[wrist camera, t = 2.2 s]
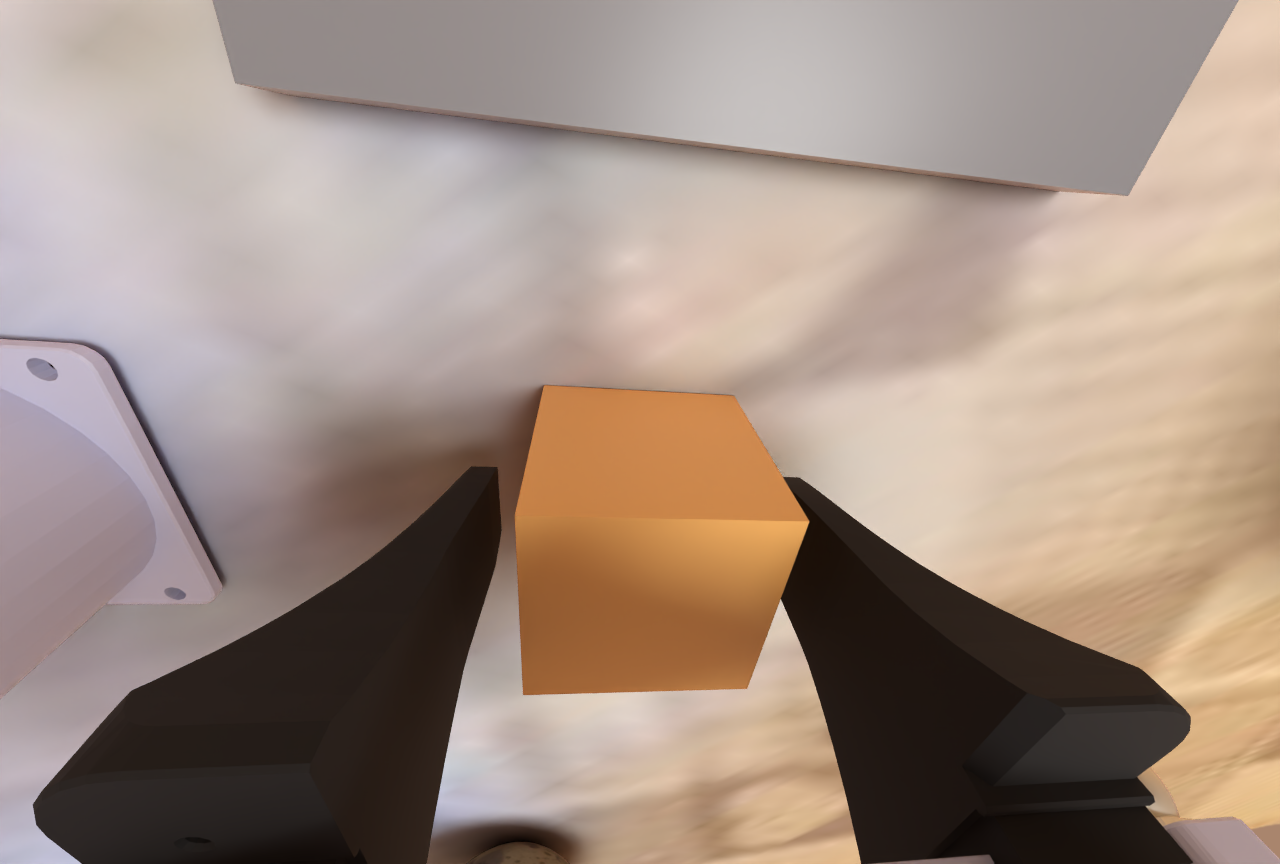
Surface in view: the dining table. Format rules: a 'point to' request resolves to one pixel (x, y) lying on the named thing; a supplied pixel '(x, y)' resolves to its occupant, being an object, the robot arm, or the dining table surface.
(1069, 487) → the dining table surface
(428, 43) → the plate
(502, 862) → the decorative egg
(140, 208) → the dining table surface
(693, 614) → the light orange cube
